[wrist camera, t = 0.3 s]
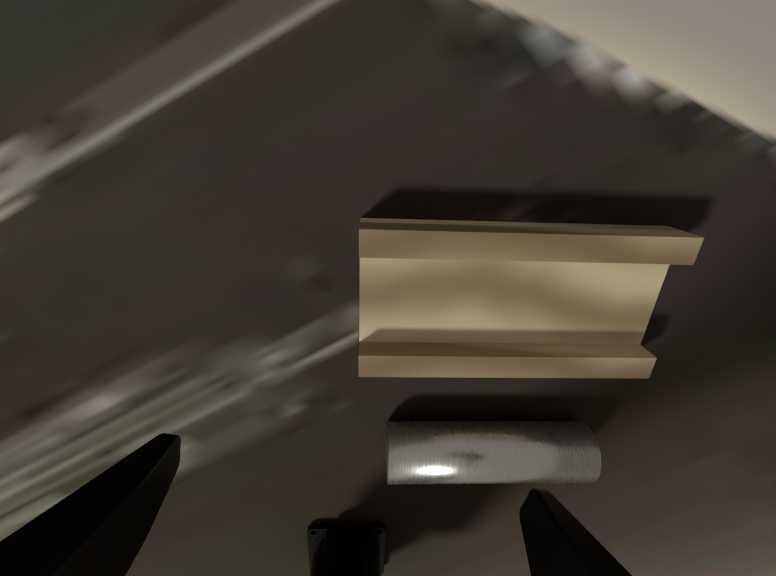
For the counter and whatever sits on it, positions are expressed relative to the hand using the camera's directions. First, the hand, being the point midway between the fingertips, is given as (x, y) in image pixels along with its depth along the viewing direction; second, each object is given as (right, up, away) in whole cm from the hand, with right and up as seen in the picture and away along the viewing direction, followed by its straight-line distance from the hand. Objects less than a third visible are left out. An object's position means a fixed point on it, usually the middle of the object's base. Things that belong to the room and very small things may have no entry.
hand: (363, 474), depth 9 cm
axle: (+7, -6, +18) cm, 21 cm away
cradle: (+8, +4, +14) cm, 16 cm away
